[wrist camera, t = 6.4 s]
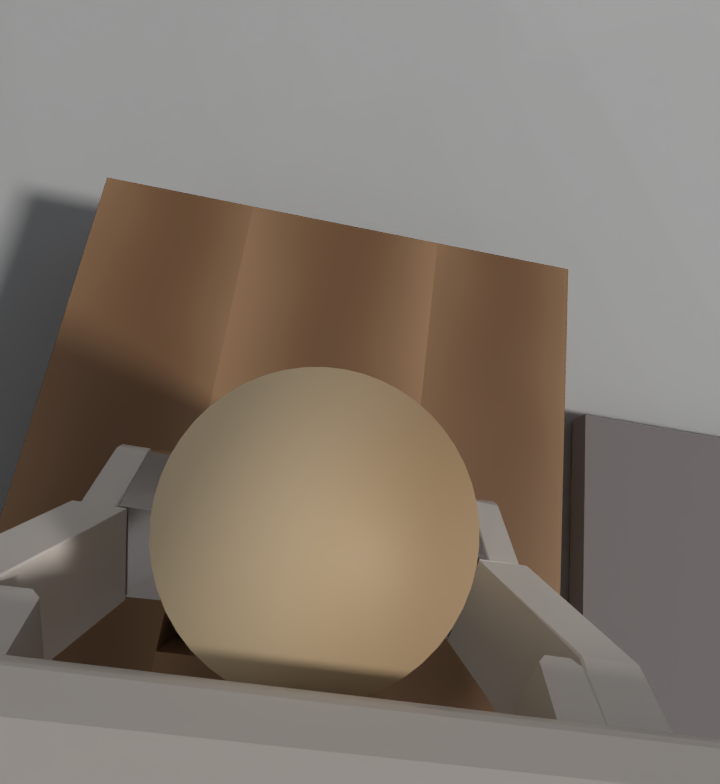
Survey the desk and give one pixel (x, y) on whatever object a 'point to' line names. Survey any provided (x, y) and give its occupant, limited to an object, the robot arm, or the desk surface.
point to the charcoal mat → (651, 557)
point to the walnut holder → (288, 351)
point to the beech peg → (314, 533)
